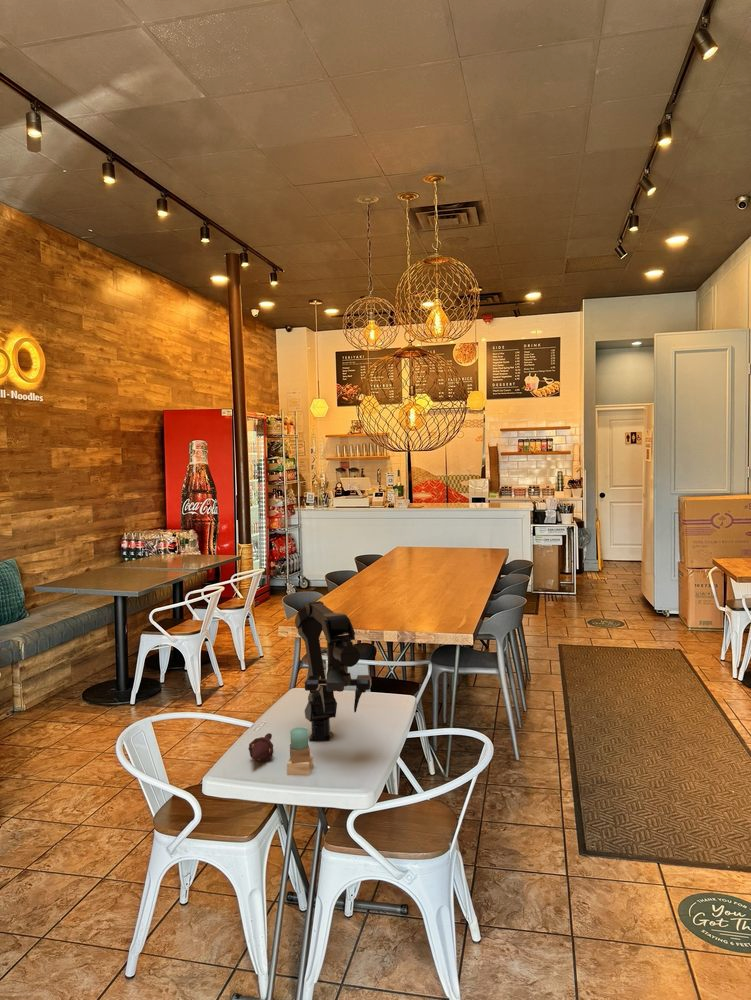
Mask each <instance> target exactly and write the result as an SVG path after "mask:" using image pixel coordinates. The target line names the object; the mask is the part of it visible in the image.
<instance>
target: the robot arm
mask: <svg viewBox="0 0 751 1000" xmlns="http://www.w3.org/2000/svg"><path fill="white" fill-rule="evenodd" d="M294 624H295V628H296V630H297V633H298V635H299V637H301V639H302V640H303V641H304V645H305V652H306V659H307V665H308V671H309V676H308V677H307V678H306V680H305V681H304V691H306V692H308V691H309V693H308V696H307V704H306V706H305V708H304V716H305V719H306V720H307V721H308V722H309V723H310V724H311V725H310V726H311V734H310V735H309V737H308V741H313V742H314V741H315V742H317V741H319V742H320V741H322V742H324V741H327V742H329V741H331V739H332V736H333V732H334V731H331V723H330V722H331V720H330V719H332V718H333V719H334V718H336V715H337V706H338V702H337V699H336V698H335V694H334V692H341V693H342V692H343V691H344V690H345V687H356V688H355V691H354V703H353V711H354V712H353V713H356V712H357V708H358V706H359V702H360V698H361V697H362V694H363V693H366V692H367V691H368V690H371V687H372V676H370V675H369V674H365V675H364V674H357V676H356V678H352V676H351V672H349V668H351V667H354V666H355V665H357V663H358V662H359V661H360V658H361V654H360V650H359V649H358V648H357V647H356V646H354V643H353V641H354V640H356V637H355V635H356V632H355V630H354V627H353V626H354V625H352V622H351V619H350V618H349V617H348V615H347V614H345V613H340V612H334V611H333V610H332V609H330V608H329V607H328V606H326V605H325V603H324V602H323V601H320V600H316V601H310V602H307V603H306V604H305V606H304V607H303V608H302V609H300V610H299V611H297V614H296V616H295V617H294ZM322 632H323V635H324V637H325V640H326V651H327V653H326V654H327V671H326V672H325V667H324V662H323V654H322V649H321V641H320V637H321V634H322ZM348 667H349V668H348ZM325 674H326V675H325Z"/></svg>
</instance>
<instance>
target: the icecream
mask: <svg viewBox="0 0 751 1000" xmlns="http://www.w3.org/2000/svg"><path fill="white" fill-rule="evenodd" d="M272 737H273V734H272V733H271V732H267V733H266V734H265V735H264V737H263V736H260V737H257V738H255V739H253V740H252V741H251V742H249V744H248V751H249V756H250V758H252V759H253V760H254V761H255V762H257V763H266V762H268V761H269V760H270V759H271V758H272V757H273V754H274V743H273V742H272V741H271V739H272Z"/></svg>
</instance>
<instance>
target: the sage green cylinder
mask: <svg viewBox="0 0 751 1000" xmlns="http://www.w3.org/2000/svg"><path fill="white" fill-rule="evenodd" d="M308 732H309V729H308V728H306V727H294V728H292V729H290V731H289V733H290V737H289V738H290V744H291V749H293V750H303V749H306V748H308V745H309V733H308Z"/></svg>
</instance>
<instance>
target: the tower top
mask: <svg viewBox="0 0 751 1000" xmlns="http://www.w3.org/2000/svg"><path fill="white" fill-rule="evenodd" d="M310 749H311V748H310V745H309V744H308V748H306V749H303V750H293V749H291V743H290V744H289V759H290V758H291V762H292V764H293V763H302V762H310V755H311V754H310V753H311V751H310Z"/></svg>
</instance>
